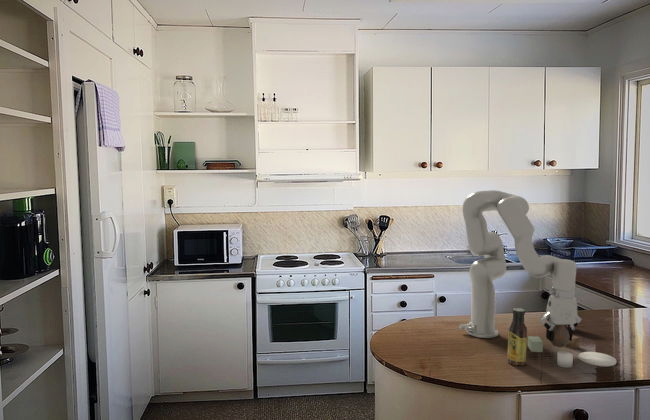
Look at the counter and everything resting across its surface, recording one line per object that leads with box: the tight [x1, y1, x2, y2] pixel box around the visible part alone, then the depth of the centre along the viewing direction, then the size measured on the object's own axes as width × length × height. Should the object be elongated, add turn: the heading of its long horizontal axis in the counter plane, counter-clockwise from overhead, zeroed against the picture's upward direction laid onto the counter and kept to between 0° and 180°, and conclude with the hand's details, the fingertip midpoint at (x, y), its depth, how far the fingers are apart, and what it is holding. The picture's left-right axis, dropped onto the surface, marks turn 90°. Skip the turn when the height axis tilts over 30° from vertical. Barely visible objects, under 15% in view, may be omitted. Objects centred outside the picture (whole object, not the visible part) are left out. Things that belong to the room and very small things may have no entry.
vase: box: [549, 325, 570, 348], centre depth 188 cm, size 7×7×9 cm
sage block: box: [527, 335, 544, 353], centre depth 195 cm, size 4×6×4 cm, turn 171°
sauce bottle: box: [506, 307, 528, 366], centre depth 181 cm, size 6×6×20 cm
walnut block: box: [564, 335, 580, 350], centre depth 197 cm, size 4×4×4 cm
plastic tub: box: [556, 350, 574, 369], centre depth 180 cm, size 5×5×4 cm
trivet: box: [578, 351, 617, 368], centre depth 184 cm, size 12×12×1 cm
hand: (559, 339), depth 189 cm, fingers closed on vase, 6 cm apart
